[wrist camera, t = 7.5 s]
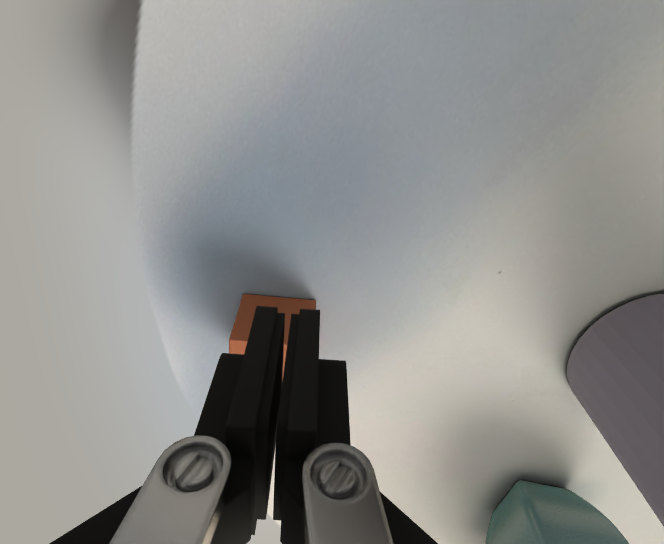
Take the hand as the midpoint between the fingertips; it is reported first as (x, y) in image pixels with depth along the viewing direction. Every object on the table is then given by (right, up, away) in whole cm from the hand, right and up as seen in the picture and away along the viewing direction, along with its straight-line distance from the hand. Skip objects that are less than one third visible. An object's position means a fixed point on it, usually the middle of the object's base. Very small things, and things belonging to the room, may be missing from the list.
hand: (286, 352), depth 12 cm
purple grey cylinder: (+23, -3, +19) cm, 29 cm away
